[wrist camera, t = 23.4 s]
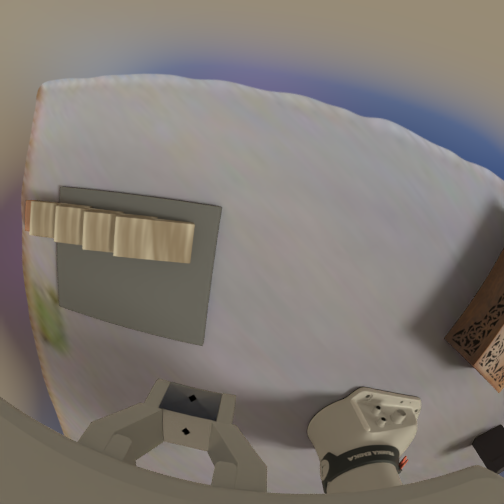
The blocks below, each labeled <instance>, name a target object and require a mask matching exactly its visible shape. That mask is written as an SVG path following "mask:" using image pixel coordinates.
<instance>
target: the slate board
mask: <svg viewBox="0 0 504 504" xmlns="http://www.w3.org/2000/svg"><path fill="white" fill-rule="evenodd" d="M59 203H67V204H76V205H85V206H92V208H95V209H104V210H113V211H121V212H124V213H123V214H133V215H143V216H153V217H158V219H164V220H174V221H183V222H192V223H194V224H195V228H194V236H193V244H192V252H191V260H190V263H179V262H168V261H158V260H147V259H137V258H127V257H117V256H113V253H112V252H102V251H93V250H83V249H82V245H76V244H68V243H60V242H57V272H58V292H59V305H60V306H61V307H64V308H66V309H69V310H72V311H75V312H78V313H81V314H84V315H87V316H90V317H93V318H96V319H100V320H103V321H106V322H109V323H113V324H116V325H119V326H123V327H126V328H130V329H134V330H137V331H141V332H145V333H149V334H153V335H156V336H160V337H165V338H169V339H173V340H177V341H182V342H186V343H190V344H195V345H200V346H203V343H204V335H205V327H206V318H207V310H208V302H209V294H210V287H211V279H212V272H213V264H214V257H215V250H216V243H217V237H218V230H219V223H220V217H221V210H222V207H219V206H212V205H206V204H199V203H193V202H186V201H179V200H172V199H165V198H157V197H150V196H142V195H134V194H126V193H118V192H110V191H101V190H92V189H83V188H73V187H60V197H59Z"/></svg>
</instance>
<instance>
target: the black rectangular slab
mask: <svg viewBox="0 0 504 504" xmlns="http://www.w3.org/2000/svg"><path fill="white" fill-rule="evenodd" d="M472 446H473V447H474V449H475V450H476V452H477V453H478V455H479V456H480V458H481V459H482V461H483V462H484V464H485V466H486V467H487V469H489V470H491V471H492V472H494V473H496V474H500V473H501V472H502V471H504V427H503V426H502V425H499V426H497V427H495V428H494V429H492V430H490V431H488V432H486V433H484V434H482V435H481V436H479V437H477V438H475V440H474V442H473V444H472Z"/></svg>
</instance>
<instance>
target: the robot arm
mask: <svg viewBox="0 0 504 504" xmlns="http://www.w3.org/2000/svg"><path fill="white" fill-rule="evenodd" d="M366 395H367V396H366ZM235 402H236V395H231V394H225V393H223V394H222V393H217V392H212V391H207V390H202V389H197V388H193V387H189V386H185V385H181V384H178V383H174V382H169V381H166V380H162V379H158V380H157V381H156V382H155V384H154V386H153V388H152V390H151V391H150V393H149V395H148V397H147V399H146V401H145V402H144V404H143V403H138V404H136V405H134V406H131V407H129V408H126V409H124V410H122V411H119V412H117V413H114V414H112V415H109V416H106V417H104V418H101V419H99V420H96V421H93V422H91V423H90V425H89V426H88V428H87V429H86V431H85V432H84V433H83V435H82V436H81V438H80V439H79V441H78V442H75V441H73V440H71V439H69V438H67V437H65V436H63V435H62V434H60V433H57V432H56V431H54V430H52V429H50V428H48V427H47V426H45V425H43V424H41V423H40V422H38V421H36V420H35V419H33V418H31V417H30V416H28V415H26V414H25V413H23V412H22V411H20V410H19V409H17V408H16V407H14V406H13V405H11V404H10V403H8V402H7V401H6V400H4V399H3V398H1V397H0V504H504V478H503V477H501V476H500V475H498V474H496V473H494V472H492V471H491V470H489V469H487V468H485V467H482V466H479V465H475V466H471V467H467V468H465V469H462V470H459V471H456V472H452V473H449V474H446V475H442V476H439V477H435V478H431V479H427V480H423V481H419V482H415V483H410V484H405V485H402V482H401V480H400V477H399V473H400V472H401V471H402V468H403V466H404V465H405V464H406V463H407V461H408V459H407V460H406V457H407V456H405V457H404V458H403V459H402V461H401V462H400V463H399V457H400V456H401V455H402V454H403V453H404V451H405V450H406V449H407V448H408V446H409V445H410V443H411V442H412V440H413V439H414V437H415V434H416V431H417V418H418V415H419V413H420V410H421V400H420V398H418V397H413V396H407V395H401V394H396V393H391V392H385V391H380V390H375V389H371V388H366V387H362V388H359V389H357V390H356V391H354V392H353V393H352V394H351V395H349V396H348V397H347V398H345V399H342V400H340V401H337V402H335V403H333V404H331V405H329V406H327V407H325V408H324V409H322V410H321V411H320V412H318V413H317V414H316V415H315V416H314V417H313V419H312V420H311V422H310V423H309V426H308V430H307V434H308V437H309V439H310V441H311V442H312V444H313V446H314V448H315V450H316V452H317V455H318V457H319V460H320V476H321V480H322V485H323V490H324V493H325V494H284V493H267V466H266V465H265V463H264V462H263V461H262V459H261V458H260V457H259V456H258V454H257V453H256V452H255V450H254V449H253V448H252V446H251V445H250V444H249V442H248V441H247V440H246V438H245V437H244V435H243V434H242V433H241V431H240V430H239V429H238V427H237V426H236V425H233V424H232V422H233V415H234V408H235ZM163 441H166V442H170V443H174V444H178V445H183V446H187V447H191V448H195V449H199V450H204V451H208V454H209V456H210V458H211V460H212V462H213V464H214V466H215V469H214V473H213V478H212V483H211V485H206V484H201V483H196V482H192V481H187V480H183V479H179V478H175V477H171V476H167V475H163V474H160V473H156V472H153V471H150V470H146V469H143V468H140V467H137V466H136V461H135V460H137V459H138V458H140V457H141V456H143V455H144V454H146V453H148V452H149V451H151V450H152V449H154V448H155V447H157V446H158V445H159V444H161V443H162V442H163ZM405 460H406V461H405Z"/></svg>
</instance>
